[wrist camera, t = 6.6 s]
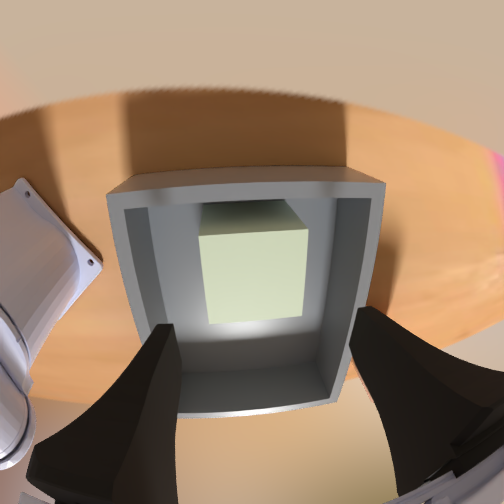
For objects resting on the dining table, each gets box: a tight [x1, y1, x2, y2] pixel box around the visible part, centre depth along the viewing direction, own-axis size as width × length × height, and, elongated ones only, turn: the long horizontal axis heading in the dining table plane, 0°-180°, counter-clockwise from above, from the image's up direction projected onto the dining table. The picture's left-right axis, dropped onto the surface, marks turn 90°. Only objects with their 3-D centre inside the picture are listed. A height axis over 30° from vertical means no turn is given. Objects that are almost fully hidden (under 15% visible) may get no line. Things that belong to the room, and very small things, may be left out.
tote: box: [106, 165, 386, 418], centre depth 19 cm, size 18×14×5 cm
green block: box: [198, 201, 309, 324], centre depth 16 cm, size 5×5×5 cm
